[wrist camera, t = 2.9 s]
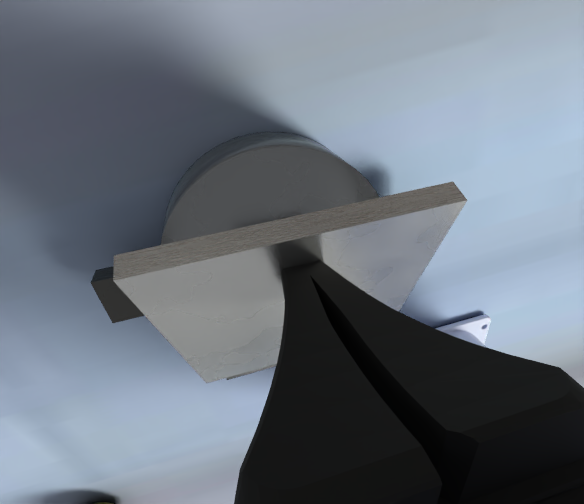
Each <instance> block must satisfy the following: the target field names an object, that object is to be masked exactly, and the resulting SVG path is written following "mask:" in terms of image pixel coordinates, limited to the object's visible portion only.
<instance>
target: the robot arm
mask: <svg viewBox="0 0 584 504" xmlns="http://www.w3.org/2000/svg"><path fill="white" fill-rule="evenodd" d="M280 274H281V281H282V287H283V293H284V299H285V310H284V322H283V332H282V339H281V345H280V351H279V355H278V360H277V365H276V369H275V373H274V377H273V381H272V384H271V388H270V391H269V394H268V397H267V400H266V403H265V406H264V409H263V412H262V415H261V418H260V421H259V424H258V427H257V429H256V432H255V434H254V437H253V439H252V442H251V444H250V446H249V449H248V451H247V454H246V456H245V458H244V461H243V463H242V466H241V468H240V473H239V478H238V484H237V490H236V495H235V502H234V504H584V388H583V387H582V386H581V385H580V384H579V383H577V382H576V381H575V380H574V379H573V378H572V377H570V376H569V375H568V374H567V373H566V372H564V371H563V370H562V369H561V368H559V367H555V366H551V365H547V364H544V363H540V362H536V361H532V360H528V359H524V358H520V357H516V356H513V355H509V354H505V353H502V352H499V351H496V350H493V349H489V348H486V346H485V345H484V344H485V340H486V337H487V333H488V329H489V325H490V322H491V318H490V317H489V316H488V315H481V316H477V317H474V318H470V319H467V320H463V321H460V322H456V323H453V324H449V325H446V326H442V327H439V328H435V329H434V328H432V327H430V326H427V325H425V324H423V323H421V322H419V321H416V320H414V319H412V318H410V317H408V316H406V315H404V314H402V313H400V312H398V311H396V310H394V309H393V308H391V307H389V306H387V305H385V304H384V303H382V302H380V301H379V300H377V299H375V298H374V297H372V296H371V295H369V294H367V293H366V292H364V291H363V290H361V289H360V288H358V287H357V286H355V285H354V284H353V283H351V282H350V281H348V280H347V279H346V278H344V277H343V276H341V275H340V274H339V273H337V272H336V271H335V270H333V269H332V268H331V267H329V266H328V265H327V264H325V263H324V262H323V261H317V262H312V263H309V264H304V265H300V266H296V267H292V268H288V269H284V270H283V271H282V272H281V273H280Z"/></svg>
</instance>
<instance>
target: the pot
mask: <svg viewBox="0 0 584 504" xmlns="http://www.w3.org/2000/svg"><path fill="white" fill-rule="evenodd" d="M375 198H379V196H378V194H377V192H376V191H375V189H374V188H373V187H372V185H371V184H370V183H369V181H368V180H367V179H366V178H365V177H364V176H363V175H362V174H360V173H359V172H358V171H357V170H356V169H355V168H353V167H352V166H351V165H349V164H348V163H346V162H345V161H344V160H342V159H341V158H340V157H338V156H337V155H336V154H334V153H333V152H331V151H330V150H329V149H327V148H326V147H324V146H323V145H321V144H319V143H317V142H315V141H313V140H311V139H308V138H305V137H302V136H299V135H295V134H289V133H284V132H262V133H253V134H249V135H245V136H241V137H237V138H234V139H232V140H229V141H227V142H224V143H222V144H221V145H219V146H217V147H215V148H213V149H212V150H210V151H209V152H207V153H206V154H205V155H203V156H202V157H201V158H199V159H198V160H197V161H196V162H195V163H194V164H193V165H192V166H191V167H190V168H189V169H188V170H187V171H186V173H185V174H184V176H183V177H182V178H181V180H180V181H179V182H178V184H177V186H176V188H175V190H174V192H173V194H172V196H171V199H170V202H169V204H168V207H167V212H166V217H165V223H164V229H163V234H162V240H161V245H164V244H168V243H173V242H178V241H182V240H187V239H191V238H196V237H201V236H205V235H210V234H214V233H219V232H224V231H228V230H233V229H237V228H242V227H247V226H251V225H256V224H260V223H265V222H270V221H274V220H279V219H283V218H288V217H293V216H297V215H302V214H306V213H311V212H316V211H320V210H325V209H329V208H334V207H339V206H343V205H348V204H352V203H357V202H362V201H366V200H371V199H375ZM113 272H114V266H113V267H108V268H104V269H99V270H96V272H95V274H94V276H93V279H92V281H91V284H92V286H93V288H94V290H95V292H96V293H97V295H98V297H99V299H100V301H101V303H102V304H103V306H104V308H105V310H106V312H107V313H108V315H109V317H110V319H111V321H112V323H116V322H120V321H124V320H128V319H132V318H136V317H140V316H144V314H143V313H142V312H141V311H140V310H139V309H138V307H137V306H136V305H135V304H134V303H133V302H132V301H131V300H130V299H129V298H128V297H127V295H126V294H125V293H124V292H123V291H122V290H121V289H120V288H119V287H118V286H117V284H116V283H115V282H114V281H113Z"/></svg>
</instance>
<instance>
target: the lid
mask: <svg viewBox="0 0 584 504" xmlns="http://www.w3.org/2000/svg"><path fill="white" fill-rule="evenodd" d="M466 202H467V199H466V198H465V197H464V195H463V194H462V193H461V191H460V190H459V189H458V187H457V186H456V185H455V183H454V182H449V183H444V184H440V185H435V186H431V187H426V188H421V189H417V190H412V191H408V192H403V193H398V194H394V195H389V196H385V197H380V198H375V199H371V200H366V201H362V202H357V203H352V204H348V205H343V206H339V207H334V208H329V209H325V210H320V211H316V212H311V213H306V214H302V215H297V216H293V217H288V218H283V219H279V220H274V221H270V222H265V223H260V224H256V225H251V226H247V227H242V228H237V229H233V230H228V231H224V232H219V233H214V234H210V235H205V236H201V237H196V238H191V239H187V240H182V241H178V242H173V243H168V244H164V245H159V246H155V247H150V248H145V249H141V250H136V251H132V252H127V253H122V254H118V255H114V272H113V281H114V282H115V283H116V284H117V286H118V287H119V288H120V289H121V290H122V291H123V292H124V293H125V294H126V295H127V297H128V298H129V299H130V300H131V301H132V302H133V303H134V304H135V305H136V306H137V307H138V309H139V310H140V311H141V312H142V313H143V314H144V315H145V316H146V317H147V318H148V320H149V321H150V322H151V323H152V324H153V325H154V326H155V327H156V328H157V329H158V331H159V332H160V333H161V334H162V335H163V336H164V337H165V338H166V339H167V340H168V342H169V343H170V344H171V345H172V346H173V347H174V348H175V349H176V350H177V351H178V353H179V354H180V355H181V356H182V357H183V358H184V359H185V360H186V361H187V362H188V363H189V365H190V366H191V367H192V368H193V369H194V370H195V371H196V372H197V373H198V374H199V376H200V377H201V378H202V379H203V380H204V381H205V382H206V383H209V382H213V381H217V380H220V379H224V378H226V379H227V380H229V379H233V378H236V377H240V376H244V375H247V374H251V373H254V372H258V371H261V370H265V369H268V368H272V367H276V365H277V360H278V355H279V351H280V345H281V339H282V332H283V322H284V310H285V299H284V293H283V287H282V281H281V274H280V273H281V272H282V271H283V270H284V269H288V268H292V267H296V266H300V265H304V264H309V263H312V262H317V261H323V262H324V263H325V264H327V265H328V266H329V267H331V268H332V269H333V270H335V271H336V272H337V273H339V274H340V275H341V276H343V277H344V278H346V279H347V280H348V281H350V282H351V283H353V284H354V285H355V286H357V287H358V288H360V289H361V290H363V291H364V292H366V293H367V294H369V295H371V296H372V297H374V298H375V299H377V300H379V301H380V302H382V303H384V304H385V305H387V306H389V307H391V308H393V309H394V310H396V311H398V312H399V311H400V309H401V307H402V306H403V304H404V303H405V301H406V299H407V298H408V296H409V294H410V293H411V291H412V290H413V288H414V286H415V285H416V283H417V281H418V280H419V278H420V277H421V275H422V273H423V272H424V270H425V268H426V267H427V265H428V263H429V262H430V260H431V259H432V257H433V255H434V254H435V252H436V250H437V249H438V247H439V246H440V244H441V242H442V241H443V239H444V237H445V236H446V234H447V233H448V231H449V229H450V228H451V226H452V224H453V223H454V221H455V220H456V218H457V216H458V215H459V213H460V211H461V210H462V208H463V207H464V205H465V203H466Z"/></svg>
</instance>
